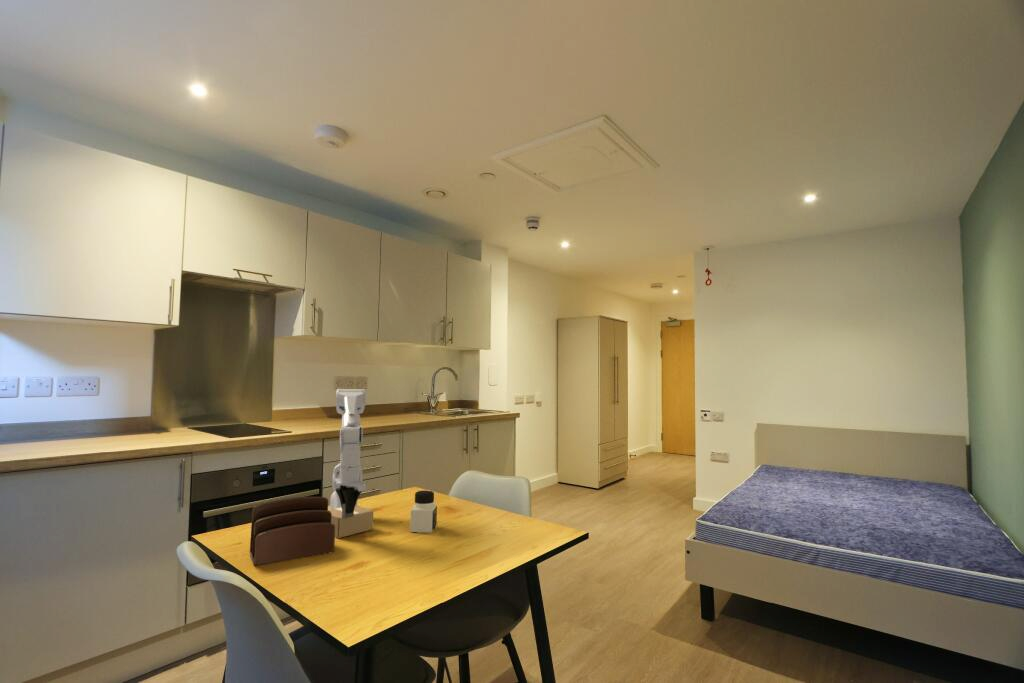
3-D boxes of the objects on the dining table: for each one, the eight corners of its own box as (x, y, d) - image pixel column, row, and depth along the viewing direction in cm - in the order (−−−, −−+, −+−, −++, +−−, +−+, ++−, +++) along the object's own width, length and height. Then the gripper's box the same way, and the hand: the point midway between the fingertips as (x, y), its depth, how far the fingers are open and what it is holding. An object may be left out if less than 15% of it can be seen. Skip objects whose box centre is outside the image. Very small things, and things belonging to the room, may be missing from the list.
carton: (319, 531, 152) (320, 511, 153) (354, 523, 161) (354, 504, 162) (337, 538, 146) (338, 517, 146) (371, 529, 155) (372, 509, 156)
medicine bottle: (432, 533, 152) (433, 493, 153) (409, 532, 152) (411, 493, 153) (436, 526, 159) (437, 489, 160) (414, 526, 160) (415, 488, 161)
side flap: (338, 537, 146) (340, 504, 147) (371, 529, 155) (373, 497, 156) (341, 538, 145) (342, 505, 146) (374, 530, 154) (375, 498, 155)
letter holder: (249, 555, 132) (252, 501, 133) (326, 542, 143) (328, 493, 144) (253, 567, 123) (256, 509, 125) (334, 553, 134) (336, 500, 135)
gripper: (325, 465, 150) (323, 510, 149) (351, 471, 141) (349, 519, 140) (345, 462, 156) (343, 506, 155) (372, 467, 147) (370, 514, 145)
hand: (347, 512), depth 148 cm, fingers closed on side flap
